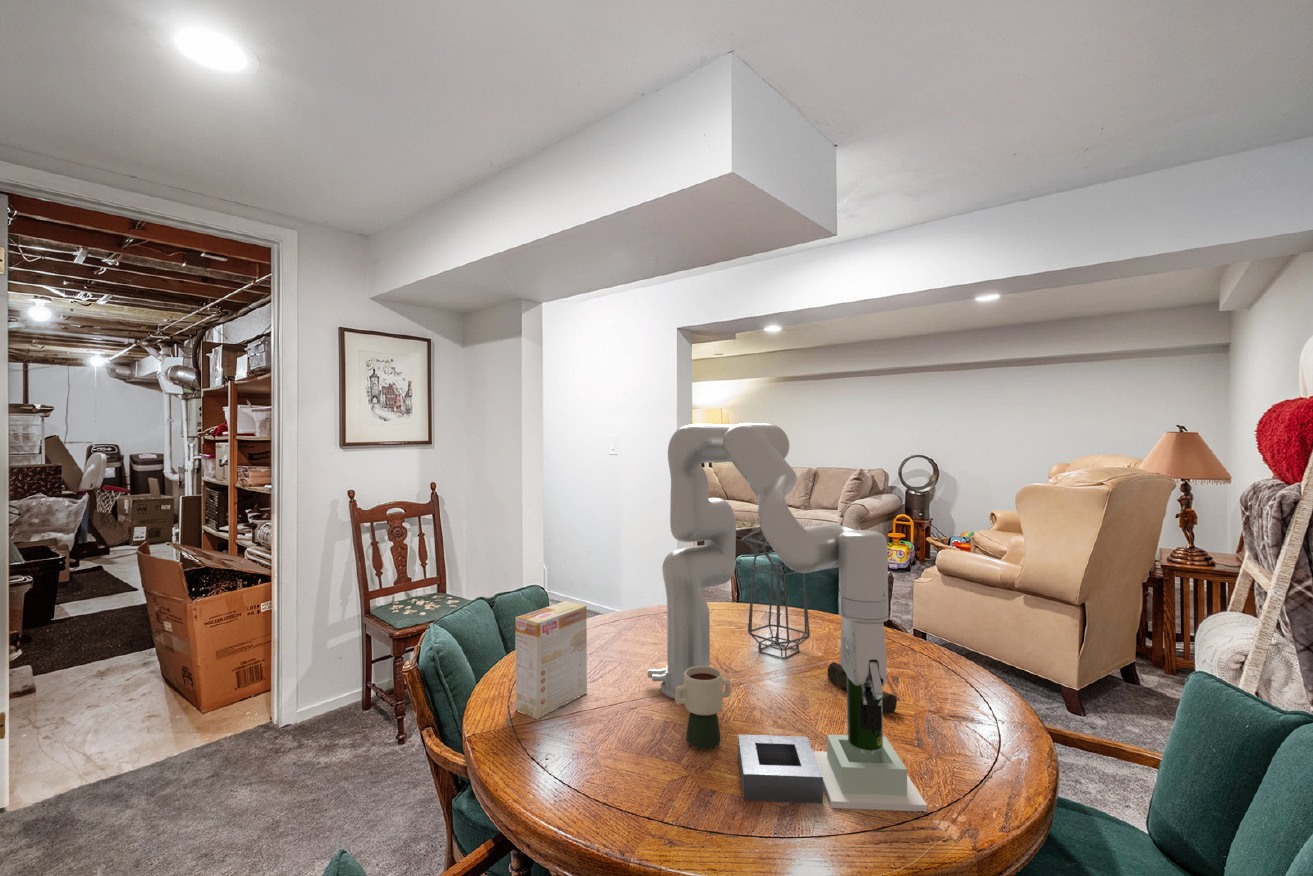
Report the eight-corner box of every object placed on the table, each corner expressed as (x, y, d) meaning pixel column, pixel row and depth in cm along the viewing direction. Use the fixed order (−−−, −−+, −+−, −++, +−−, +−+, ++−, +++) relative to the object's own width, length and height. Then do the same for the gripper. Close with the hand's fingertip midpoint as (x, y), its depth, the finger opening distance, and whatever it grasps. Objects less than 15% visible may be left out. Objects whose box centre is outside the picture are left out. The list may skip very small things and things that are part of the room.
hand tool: (898, 713, 115) (898, 690, 115) (883, 716, 114) (882, 693, 114) (838, 678, 133) (837, 658, 133) (823, 680, 132) (823, 660, 132)
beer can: (848, 752, 90) (847, 676, 90) (847, 735, 95) (846, 663, 95) (884, 757, 88) (883, 680, 88) (881, 740, 93) (880, 667, 93)
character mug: (722, 730, 108) (722, 662, 108) (739, 749, 101) (738, 676, 102) (668, 739, 105) (668, 669, 105) (682, 759, 98) (682, 684, 98)
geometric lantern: (737, 650, 150) (737, 519, 152) (772, 638, 161) (772, 515, 162) (787, 667, 139) (786, 524, 140) (821, 652, 149) (820, 520, 151)
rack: (831, 808, 85) (831, 774, 85) (812, 756, 99) (812, 728, 99) (927, 812, 84) (926, 778, 84) (894, 759, 98) (893, 730, 98)
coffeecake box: (565, 686, 129) (565, 600, 129) (588, 693, 124) (588, 605, 125) (513, 711, 116) (513, 616, 117) (537, 720, 112) (537, 622, 112)
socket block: (743, 800, 87) (743, 774, 87) (738, 757, 99) (737, 734, 99) (823, 803, 86) (822, 777, 86) (807, 759, 98) (807, 736, 98)
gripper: (827, 593, 101) (828, 695, 100) (854, 623, 84) (856, 746, 83) (870, 594, 100) (872, 697, 100) (906, 624, 83) (908, 748, 83)
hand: (864, 718), depth 91 cm, fingers closed on beer can, 5 cm apart
